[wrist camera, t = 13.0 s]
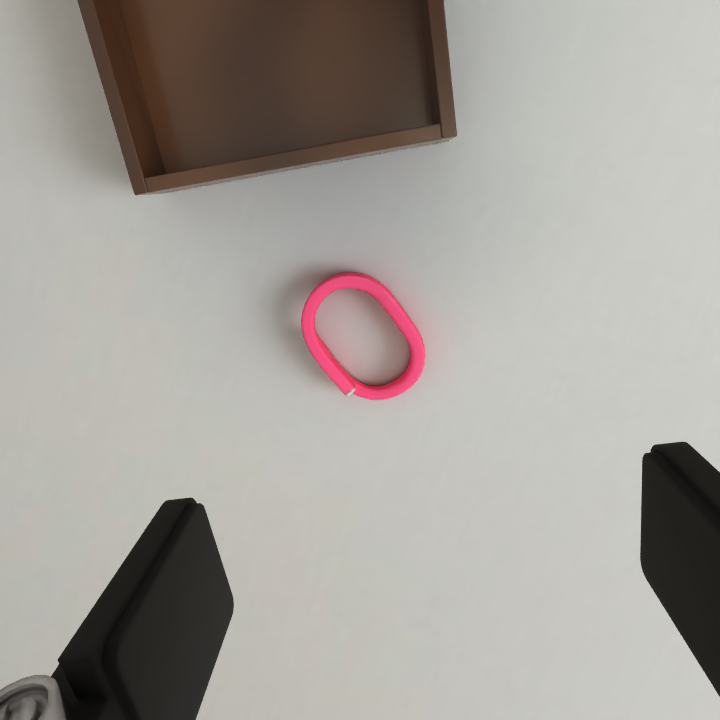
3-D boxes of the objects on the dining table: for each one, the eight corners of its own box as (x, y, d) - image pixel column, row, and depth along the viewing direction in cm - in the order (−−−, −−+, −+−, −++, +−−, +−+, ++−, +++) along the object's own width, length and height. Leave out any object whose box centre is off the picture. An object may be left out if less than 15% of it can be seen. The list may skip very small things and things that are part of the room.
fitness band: (282, 310, 31) (278, 316, 29) (361, 250, 29) (360, 254, 28) (365, 411, 33) (364, 422, 31) (442, 359, 31) (445, 368, 30)
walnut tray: (414, -181, 23) (419, -238, 20) (448, 141, 27) (457, 136, 24) (79, -101, 24) (35, -142, 21) (161, 193, 29) (134, 195, 26)
